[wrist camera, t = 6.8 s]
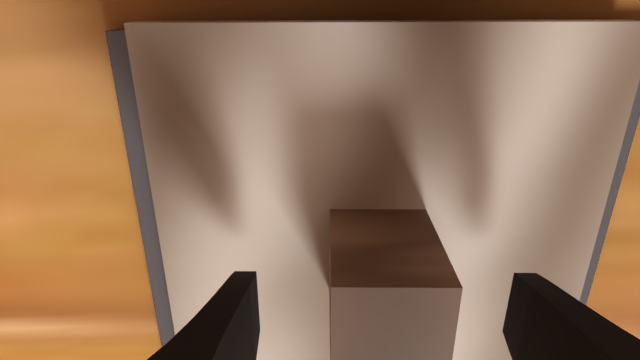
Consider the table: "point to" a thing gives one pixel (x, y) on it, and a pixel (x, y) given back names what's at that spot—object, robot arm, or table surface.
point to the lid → (380, 171)
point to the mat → (145, 200)
